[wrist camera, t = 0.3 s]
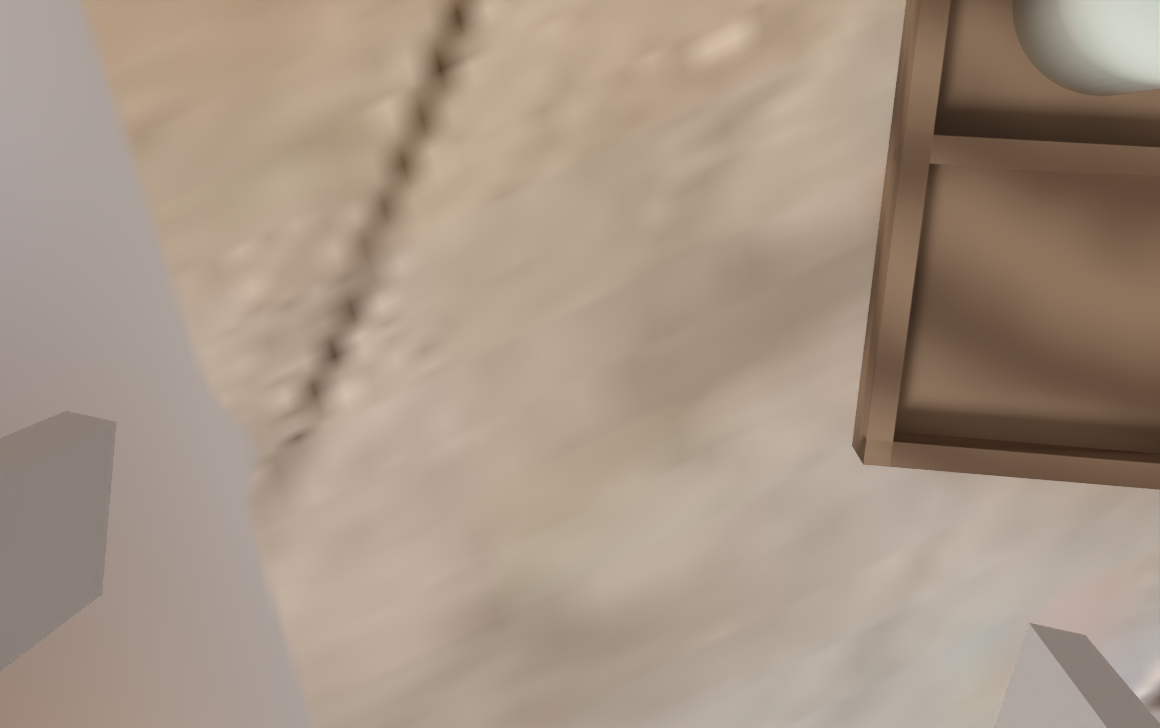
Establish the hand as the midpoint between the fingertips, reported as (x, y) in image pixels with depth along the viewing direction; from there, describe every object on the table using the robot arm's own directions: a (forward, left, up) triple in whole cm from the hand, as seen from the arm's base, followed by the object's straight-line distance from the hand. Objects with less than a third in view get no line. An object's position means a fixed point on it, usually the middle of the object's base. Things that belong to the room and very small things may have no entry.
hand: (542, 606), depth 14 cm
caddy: (-7, +16, -27) cm, 32 cm away
